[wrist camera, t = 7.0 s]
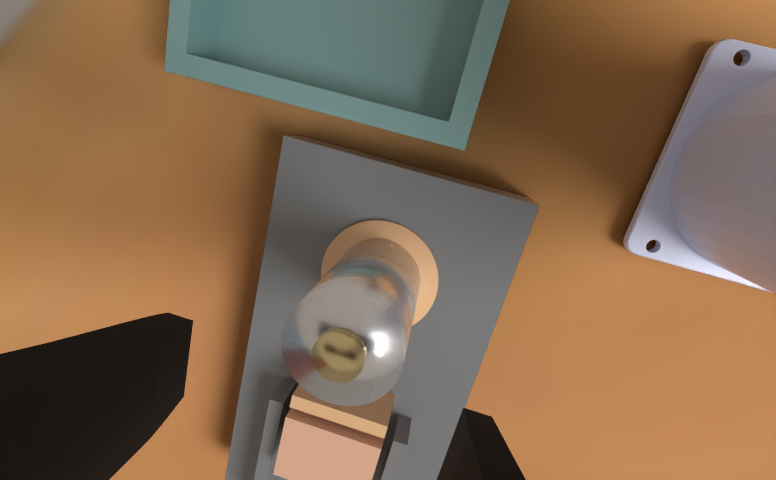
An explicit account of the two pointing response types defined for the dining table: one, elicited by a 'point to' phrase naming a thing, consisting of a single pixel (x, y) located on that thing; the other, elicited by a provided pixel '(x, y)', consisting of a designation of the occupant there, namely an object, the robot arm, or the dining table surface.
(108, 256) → the dining table surface
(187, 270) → the dining table surface
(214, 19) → the trough
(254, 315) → the battery checker
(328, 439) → the slider
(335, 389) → the steel cell
